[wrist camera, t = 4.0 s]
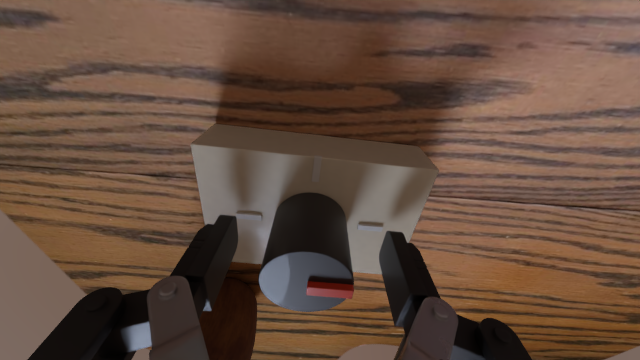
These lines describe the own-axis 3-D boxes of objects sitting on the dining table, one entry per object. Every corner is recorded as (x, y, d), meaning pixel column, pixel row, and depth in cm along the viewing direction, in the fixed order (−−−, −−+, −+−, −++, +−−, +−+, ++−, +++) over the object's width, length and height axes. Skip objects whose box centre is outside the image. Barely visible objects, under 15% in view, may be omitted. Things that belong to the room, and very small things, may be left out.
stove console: (226, 228, 18) (210, 263, 15) (214, 121, 14) (187, 142, 11) (384, 243, 19) (395, 278, 16) (419, 144, 14) (441, 170, 12)
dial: (274, 243, 14) (257, 315, 11) (275, 188, 12) (255, 253, 9) (340, 249, 15) (345, 321, 11) (351, 195, 13) (363, 262, 9)
